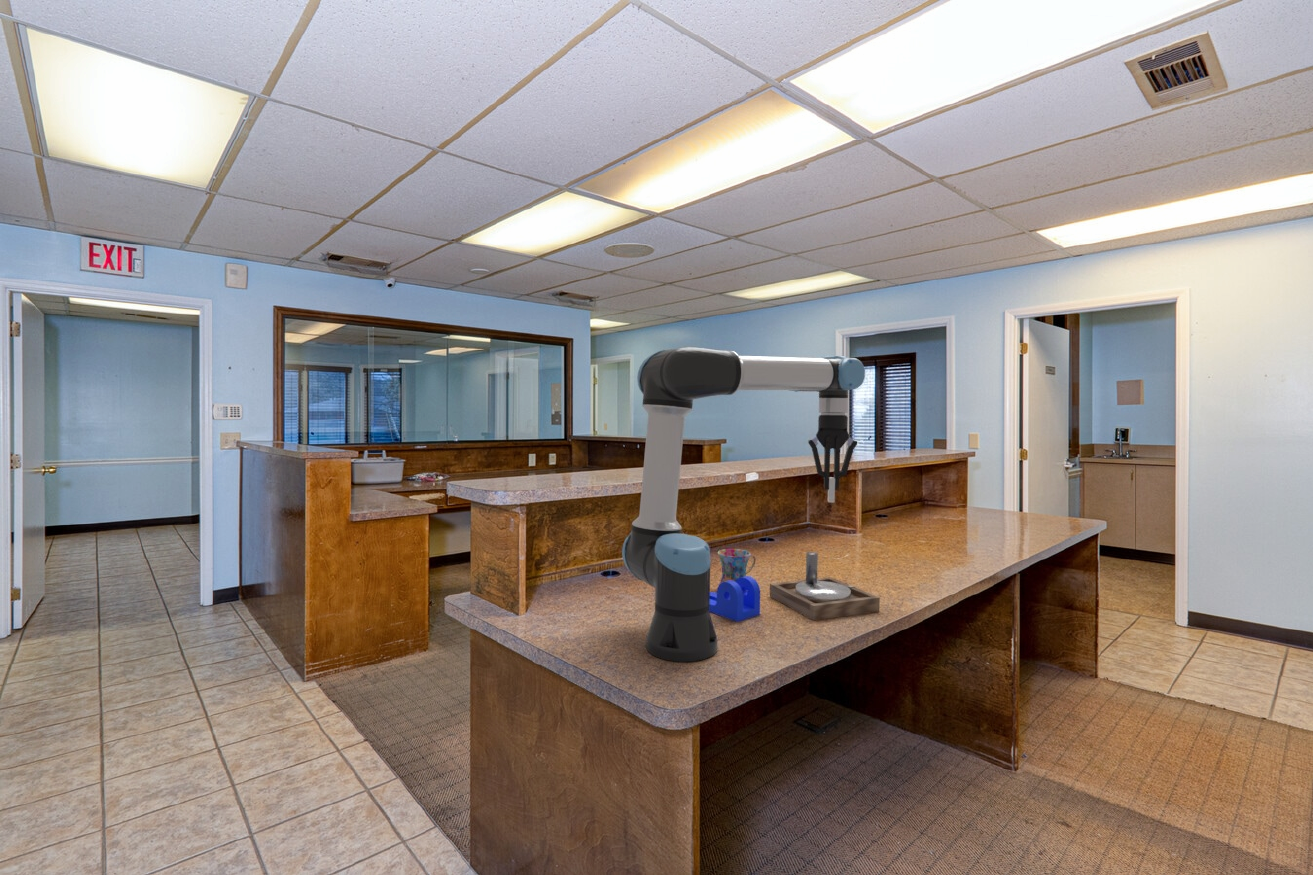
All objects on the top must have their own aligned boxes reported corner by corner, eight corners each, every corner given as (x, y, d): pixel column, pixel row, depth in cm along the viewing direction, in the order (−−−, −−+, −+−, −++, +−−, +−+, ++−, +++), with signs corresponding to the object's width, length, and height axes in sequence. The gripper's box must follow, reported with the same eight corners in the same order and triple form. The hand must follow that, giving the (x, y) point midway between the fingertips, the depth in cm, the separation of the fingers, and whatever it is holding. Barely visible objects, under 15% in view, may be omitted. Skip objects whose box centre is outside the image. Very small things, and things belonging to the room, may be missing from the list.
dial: (861, 601, 156) (862, 562, 155) (814, 606, 152) (815, 566, 151) (830, 586, 169) (831, 550, 169) (785, 590, 165) (786, 553, 164)
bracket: (759, 615, 152) (760, 579, 151) (737, 622, 146) (737, 585, 146) (708, 597, 165) (708, 564, 165) (686, 603, 160) (686, 569, 160)
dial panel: (813, 620, 148) (813, 605, 147) (769, 596, 166) (769, 582, 166) (879, 611, 155) (879, 596, 155) (830, 589, 173) (830, 576, 173)
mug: (729, 596, 166) (729, 557, 165) (710, 587, 174) (711, 550, 174) (764, 590, 172) (765, 553, 171) (745, 582, 180) (745, 546, 179)
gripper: (855, 414, 165) (853, 500, 167) (806, 414, 167) (805, 499, 169) (860, 414, 158) (858, 504, 159) (809, 414, 160) (807, 503, 161)
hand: (831, 501), depth 164 cm, fingers closed
